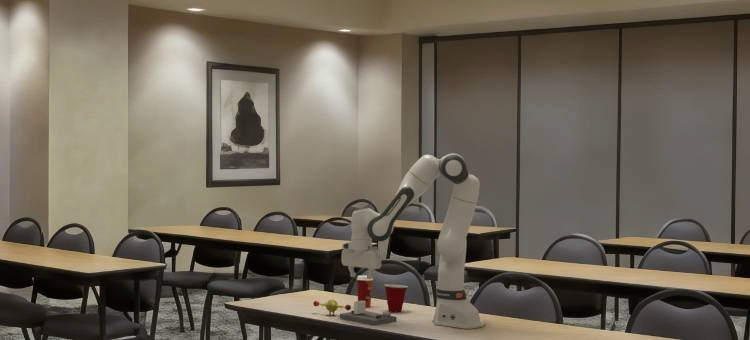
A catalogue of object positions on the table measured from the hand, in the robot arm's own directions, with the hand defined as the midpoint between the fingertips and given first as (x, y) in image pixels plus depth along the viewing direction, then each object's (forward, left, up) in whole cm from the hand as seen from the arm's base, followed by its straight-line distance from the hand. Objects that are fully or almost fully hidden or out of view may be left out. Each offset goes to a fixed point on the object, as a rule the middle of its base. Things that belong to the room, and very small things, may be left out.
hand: (361, 277), depth 404 cm
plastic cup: (+2, -26, -18) cm, 31 cm away
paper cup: (+19, -24, -18) cm, 35 cm away
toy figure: (+14, +4, -18) cm, 23 cm away
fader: (0, 0, -15) cm, 15 cm away
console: (-4, -1, -18) cm, 18 cm away
